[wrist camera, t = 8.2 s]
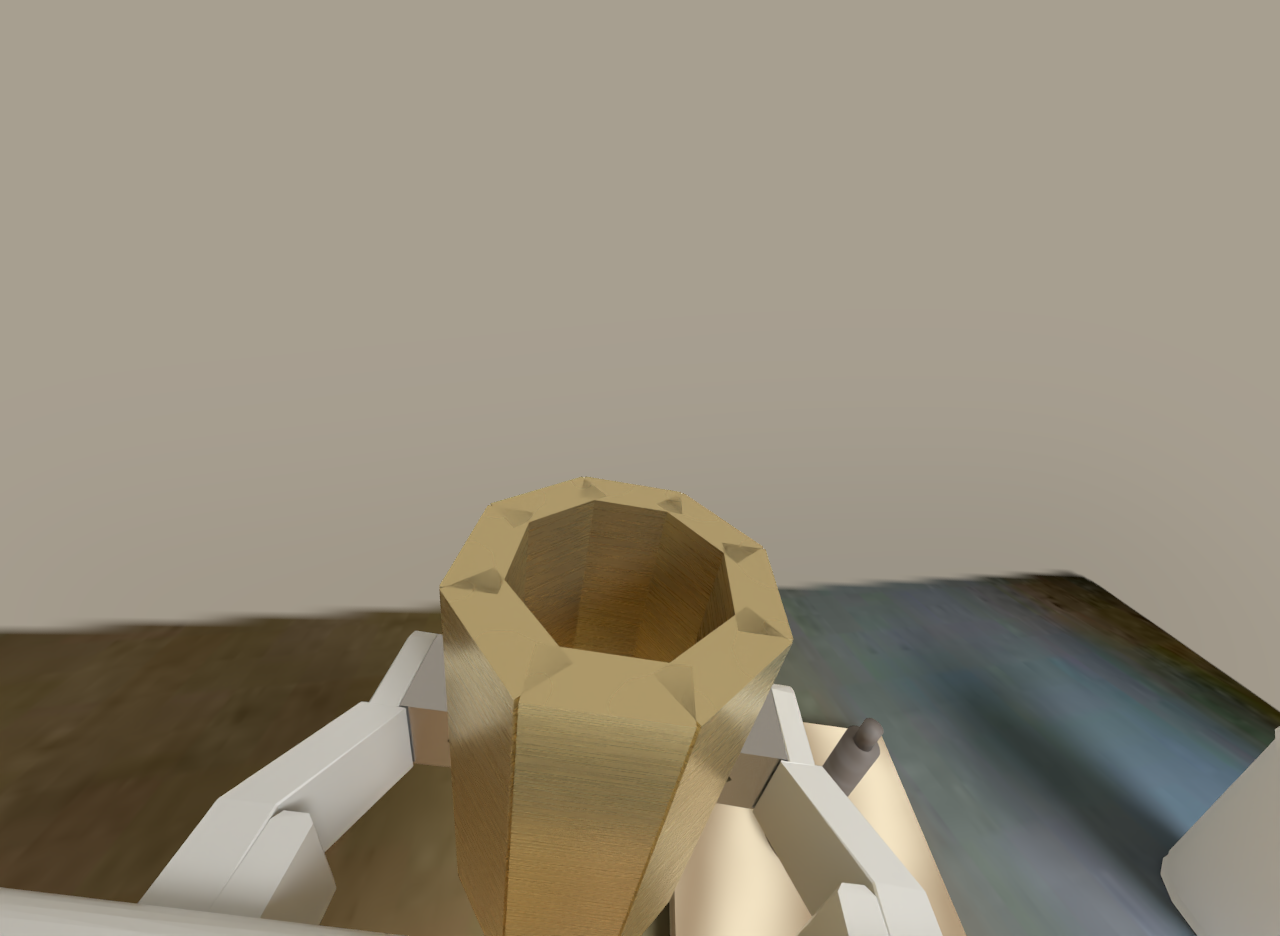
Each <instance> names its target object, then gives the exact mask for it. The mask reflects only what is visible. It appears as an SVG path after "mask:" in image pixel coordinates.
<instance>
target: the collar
mask: <svg viewBox="0 0 1280 936" xmlns="http://www.w3.org/2000/svg"><path fill="white" fill-rule="evenodd" d="M440 604H441V620H442V635H443V650H444V666H445V681H446V696H447V712H448V727H449V743H450V758H451V773H452V789H453V804H454V819H455V835H456V850H457V866H458V876H459V878H460V881H461V883H462V885H463V887H464V890H465V892H466V894H467V897H468V899H469V901H470V903H471V906H472V908H473V910H474V912H475V915H476V917H477V919H478V921H479V924H480V926H481V928H482V930H483V933H484V935H485V936H641V935H642V934H643V933H644V932H645V931H646V929H647V928H648V927H649V926H650V924H651V923H652V922H653V921H654V920H655V918H656V917H657V916H658V915H659V913H660V912H661V911H662V910H663V909H664V907H665V906H666V905H667V904H668V902H669V901H670V899H671V897H672V895H673V892H674V890H675V888H676V886H677V884H678V882H679V880H680V878H681V876H682V874H683V871H684V869H685V867H686V865H687V863H688V861H689V859H690V857H691V855H692V853H693V850H694V848H695V846H696V844H697V842H698V840H699V838H700V836H701V834H702V832H703V829H704V827H705V825H706V823H707V821H708V819H709V817H710V815H711V813H712V811H713V808H714V806H715V804H716V802H717V800H718V798H719V796H720V794H721V792H722V790H723V787H724V785H725V783H726V781H727V779H728V777H729V775H730V773H731V771H732V769H733V767H734V764H735V762H736V760H737V758H738V756H739V754H740V752H741V750H742V748H743V746H744V743H745V741H746V739H747V737H748V735H749V733H750V731H751V729H752V727H753V725H754V722H755V720H756V718H757V716H758V714H759V712H760V710H761V708H762V706H763V704H764V701H765V699H766V697H767V695H768V693H769V691H770V689H771V687H772V685H773V683H774V680H775V678H776V676H777V674H778V672H779V670H780V668H781V666H782V664H783V662H784V659H785V657H786V655H787V653H788V651H789V649H790V647H791V645H792V643H793V642H792V641H793V637H792V633H791V630H790V627H789V624H788V620H787V617H786V614H785V611H784V608H783V604H782V601H781V598H780V595H779V591H778V588H777V585H776V582H775V579H774V575H773V572H772V569H771V566H770V563H769V560H768V556H767V553H766V550H765V549H763V546H761V545H760V544H758V543H757V542H755V541H754V540H752V539H751V538H749V537H748V536H746V535H745V534H743V533H742V532H740V531H739V530H737V529H736V528H734V527H733V526H731V525H730V524H729V523H727V522H726V521H724V520H723V519H721V518H720V517H718V516H717V515H715V514H714V513H712V512H711V511H709V510H708V509H706V508H705V507H703V506H702V505H700V504H699V503H697V502H696V501H694V500H693V499H691V498H690V497H688V496H687V495H686V494H684V493H683V494H681V492H677V491H671V490H665V489H658V488H652V487H646V486H640V485H634V484H628V483H621V482H616V481H609V480H604V479H597V478H591V477H585V479H584V478H583V477H579V478H576V479H572V480H569V481H565V482H562V483H559V484H556V485H552V486H549V487H545V488H542V489H539V490H535V491H531V492H528V493H525V494H521V495H518V496H514V497H511V498H508V499H504V500H501V501H497V502H494V503H491V506H490V505H488V506H487V508H486V509H485V511H484V513H483V514H482V516H481V518H480V519H479V521H478V523H477V524H476V526H475V528H474V529H473V531H472V533H471V534H470V536H469V538H468V539H467V541H466V543H465V544H464V546H463V548H462V549H461V551H460V552H459V554H458V556H457V557H456V559H455V561H454V563H453V564H452V566H451V568H450V569H449V571H448V572H447V574H446V576H445V577H444V579H443V581H442V582H441V584H440Z"/></svg>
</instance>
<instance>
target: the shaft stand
mask: <svg viewBox="0 0 1280 936" xmlns="http://www.w3.org/2000/svg"><path fill="white" fill-rule="evenodd" d="M803 725H804V728H805V732H806V735H807V739H808V742H809V746H810V749H811V753H812V756H813V760H814V763H815V765H818V766H822V767H823V768H824V769H825V770H826V772H827V773H828V774H829V775H830V776H831V778H832V779H833V780H834V781H835V782H836V784H837V785H838V786H839V787H840V789H841V790H842V791H843V792H844V793H845V795H846V796H847V797H848V798H849V799H850V801H851V802H852V803H853V804H854V805H855V807H856V808H857V809H858V810H859V812H860V813H861V814H862V815H863V816H864V818H865V819H866V820H867V821H868V822H869V824H870V825H871V826H872V827H873V828H874V830H875V831H876V832H877V833H878V835H879V836H880V837H881V838H882V839H883V841H884V842H885V843H886V844H887V845H888V847H889V848H890V849H891V850H892V851H893V853H894V854H895V855H896V856H897V858H898V859H899V860H900V861H901V862H902V864H903V865H904V866H905V867H906V868H907V870H908V871H909V872H910V873H911V875H912V876H913V877H914V878H915V879H916V881H917V882H918V883H919V884H920V885H921V887H922V888H923V889H924V890H925V892H926V894H927V897H928V899H929V902H930V904H931V907H932V910H933V912H934V915H935V917H936V920H937V922H938V925H939V928H940V930H941V933H942V935H943V936H966V934H965V932H964V929H963V927H962V924H961V922H960V920H959V917H958V915H957V913H956V910H955V908H954V906H953V903H952V901H951V899H950V896H949V894H948V891H947V889H946V887H945V884H944V882H943V880H942V877H941V875H940V873H939V870H938V868H937V866H936V863H935V861H934V858H933V856H932V854H931V851H930V849H929V847H928V844H927V842H926V840H925V837H924V835H923V833H922V830H921V828H920V825H919V823H918V821H917V818H916V816H915V814H914V811H913V809H912V807H911V804H910V802H909V800H908V797H907V795H906V793H905V790H904V788H903V785H902V783H901V781H900V778H899V776H898V774H897V771H896V769H895V767H894V764H893V762H892V760H891V757H890V755H889V752H888V750H887V748H886V745H885V743H884V741H883V738H882V735H883V728H882V726H881V725H880V723H879V722H877V721H876V720H874V719H872V718H866V719H865V720H864V722H863V723H862V725H861V726H860V727H858V726H851V727H849V728H841V727H834V726H826V725H819V724H812V723H805V722H803ZM752 811H753V809H748V808H742V807H736V806H730V805H724V804H718V803H716V804H715V806H714V808H713V811H712V813H711V815H710V817H709V819H708V821H707V823H706V825H705V827H704V829H703V832H702V834H701V836H700V838H699V840H698V842H697V844H696V846H695V848H694V850H693V853H692V855H691V857H690V859H689V861H688V863H687V865H686V867H685V869H684V871H683V874H682V876H681V878H680V880H679V882H678V884H677V886H676V888H675V890H674V892H673V895H672V897H671V899H670V901H669V906H670V936H796V934H797V933H798V932H799V931H800V930H801V929H802V928H803V926H804V925H805V924H806V923H807V922H808V921H809V920H810V918H811V917H812V916H811V915H810V913H809V911H808V909H807V907H806V906H805V904H804V902H803V900H802V899H801V897H800V895H799V893H798V892H797V890H796V888H795V886H794V884H793V883H792V881H791V879H790V877H789V876H788V874H787V872H786V870H785V869H784V867H783V865H782V863H781V861H780V860H779V858H778V856H777V854H776V853H775V851H774V849H773V847H772V846H771V844H770V842H769V840H768V838H767V837H766V835H765V833H764V831H763V830H762V828H761V826H760V824H759V823H758V821H757V819H756V817H755V815H754V814H753V812H752Z"/></svg>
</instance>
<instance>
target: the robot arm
mask: <svg viewBox="0 0 1280 936" xmlns="http://www.w3.org/2000/svg"><path fill="white" fill-rule="evenodd" d="M413 763H416V764H425V765H435V766H444V767H451V758H450V743H449V727H448V712H447V696H446V681H445V666H444V650H443V635H440V634H434V633H428V632H421V631H414V632H413V633H412V634H411V635H410V636H409V637H408V639H407V640H406V642H405V643H404V645H403V647H402V648H401V650H400V652H399V653H398V655H397V657H396V658H395V660H394V662H393V663H392V665H391V667H390V668H389V670H388V672H387V673H386V675H385V677H384V678H383V680H382V681H381V683H380V685H379V686H378V688H377V690H376V691H375V693H374V695H373V696H372V698H371V700H370V701H369V702H363V701H361V702H360V703H358V704H357V705H355V706H354V707H352V708H351V709H349V710H348V711H346V712H345V713H343V714H342V715H340V716H339V717H338V718H336V719H335V720H333V721H332V722H330V723H329V724H327V725H326V726H324V727H323V728H321V729H320V730H318V731H317V732H315V733H314V734H312V735H311V736H309V737H308V738H306V739H305V740H304V741H302V742H301V743H299V744H298V745H296V746H295V747H293V748H292V749H290V750H289V751H287V752H286V753H284V754H283V755H281V756H280V757H278V758H277V759H275V760H274V761H272V762H271V763H270V764H268V765H267V766H265V767H264V768H262V769H261V770H259V771H258V772H256V773H255V774H253V775H252V776H250V777H249V778H247V779H246V780H244V781H243V782H241V783H240V784H239V785H237V786H236V787H234V788H233V789H231V790H230V791H228V792H227V793H225V794H224V795H222V796H221V797H219V798H218V799H217V800H216V802H215V803H214V804H213V806H212V807H211V808H210V810H209V811H208V812H207V813H206V815H205V816H204V817H203V819H202V820H201V821H200V823H199V824H198V825H197V826H196V828H195V829H194V830H193V832H192V833H191V834H190V836H189V837H188V838H187V840H186V841H185V842H184V843H183V845H182V846H181V847H180V849H179V850H178V851H177V853H176V854H175V855H174V856H173V858H172V859H171V860H170V862H169V863H168V864H167V866H166V867H165V868H164V870H163V871H162V872H161V873H160V875H159V876H158V877H157V879H156V880H155V881H154V883H153V884H152V885H151V886H150V888H149V889H148V890H147V892H146V893H145V894H144V896H143V897H142V898H141V900H140V901H139V902H138V903H137V904H136V903H128V902H119V901H111V900H102V899H94V898H86V897H77V896H69V895H60V894H52V893H44V892H35V891H27V890H19V889H10V888H2V887H0V936H405V935H396V934H388V933H379V932H371V931H363V930H354V929H346V928H337V927H329V926H321V925H319V924H320V922H321V920H322V918H323V916H324V914H325V912H326V910H327V907H328V905H329V903H330V901H331V899H332V897H333V895H334V893H335V890H336V885H335V880H334V877H333V874H332V872H331V869H330V866H329V864H328V861H327V858H326V856H325V853H324V852H325V851H326V850H327V849H328V848H329V847H331V846H332V845H333V844H334V843H335V842H336V841H337V840H338V839H339V838H340V837H341V836H342V835H343V834H344V833H345V832H346V831H347V830H348V829H349V828H350V827H351V826H352V825H353V824H354V823H355V822H356V821H357V820H358V819H359V818H360V817H361V816H363V815H364V814H365V813H366V812H367V811H368V810H369V809H370V808H371V807H372V806H373V805H374V804H375V803H376V802H377V801H378V800H379V799H380V798H381V797H382V796H383V795H384V794H385V793H386V792H387V791H388V790H389V789H390V788H391V787H392V786H393V785H395V784H396V783H397V782H398V781H399V780H400V779H401V778H402V777H403V776H404V775H405V774H406V773H407V772H408V771H409V770H410V769H411V768H412V767H413ZM716 803H718V804H724V805H730V806H736V807H742V808H748V809H753V811H752V812H753V814H754V815H755V817H756V819H757V821H758V823H759V824H760V826H761V828H762V830H763V831H764V833H765V835H766V837H767V838H768V840H769V842H770V844H771V846H772V847H773V849H774V851H775V853H776V854H777V856H778V858H779V860H780V861H781V863H782V865H783V867H784V869H785V870H786V872H787V874H788V876H789V877H790V879H791V881H792V883H793V884H794V886H795V888H796V890H797V892H798V893H799V895H800V897H801V899H802V900H803V902H804V904H805V906H806V907H807V909H808V911H809V913H810V915H811V916H812V917H811V918H810V920H809V921H808V922H807V923H806V924H805V925H804V926H803V928H802V929H801V930H800V931H799V932H798V933H797V934H796V936H943V935H942V933H941V930H940V928H939V925H938V922H937V920H936V917H935V915H934V912H933V910H932V907H931V904H930V902H929V899H928V897H927V894H926V892H925V890H924V889H923V888H922V887H921V885H920V884H919V883H918V882H917V881H916V879H915V878H914V877H913V876H912V875H911V873H910V872H909V871H908V870H907V868H906V867H905V866H904V865H903V864H902V862H901V861H900V860H899V859H898V858H897V856H896V855H895V854H894V853H893V851H892V850H891V849H890V848H889V847H888V845H887V844H886V843H885V842H884V841H883V839H882V838H881V837H880V836H879V835H878V833H877V832H876V831H875V830H874V828H873V827H872V826H871V825H870V824H869V822H868V821H867V820H866V819H865V818H864V816H863V815H862V814H861V813H860V812H859V810H858V809H857V808H856V807H855V805H854V804H853V803H852V802H851V801H850V799H849V798H848V797H847V796H846V795H845V793H844V792H843V791H842V790H841V789H840V787H839V786H838V785H837V784H836V782H835V781H834V780H833V779H832V778H831V776H830V775H829V774H828V773H827V772H826V770H825V769H824V768H823V767H822V766H818V765H815V763H814V760H813V756H812V753H811V749H810V746H809V742H808V739H807V735H806V732H805V728H804V725H803V721H802V718H801V714H800V711H799V707H798V704H797V700H796V697H795V693H794V691H793V689H792V688H791V687H790V686H785V685H778V684H773V685H772V687H771V689H770V691H769V693H768V695H767V697H766V699H765V701H764V704H763V706H762V708H761V710H760V712H759V714H758V716H757V718H756V720H755V722H754V725H753V727H752V729H751V731H750V733H749V735H748V737H747V739H746V741H745V743H744V746H743V748H742V750H741V752H740V754H739V756H738V758H737V760H736V762H735V764H734V767H733V769H732V771H731V773H730V775H729V777H728V779H727V781H726V783H725V785H724V787H723V790H722V792H721V794H720V796H719V798H718V800H717V802H716Z"/></svg>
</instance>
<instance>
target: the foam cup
mask: <svg viewBox="0 0 1280 936" xmlns="http://www.w3.org/2000/svg"><path fill="white" fill-rule="evenodd" d="M1160 875H1161V877H1162V879H1163V882H1164V884H1165V886H1166V889H1167V891H1168V894H1169V896H1170V898H1171V901H1172V902H1173V904H1174V905H1175V906H1176V908H1177V909H1178V910H1179V912H1180V913H1181V915H1182V916H1183V917H1184V919H1185V920H1186V921H1187V923H1188V924H1189V925H1190V927H1191V928H1192V929H1193V931H1194V932H1195V933H1196V935H1197V936H1280V727H1278V728H1277V729H1275V740H1274V741H1273V742H1272V743H1271V744H1270V745H1269V746H1268V747H1267V748H1266V749H1265V750H1264V751H1263V752H1262V754H1261V755H1260V756H1259V757H1258V758H1257V759H1256V760H1255V761H1254V762H1253V763H1252V764H1251V765H1250V766H1249V767H1248V768H1247V769H1246V770H1245V771H1244V772H1243V774H1242V775H1241V776H1240V777H1239V778H1238V779H1237V780H1236V781H1235V782H1234V783H1233V784H1232V785H1231V786H1230V787H1229V788H1228V789H1227V790H1226V791H1225V792H1224V794H1223V795H1222V796H1221V797H1220V798H1219V799H1218V800H1217V801H1216V802H1215V803H1214V804H1213V805H1212V806H1211V807H1210V808H1209V809H1208V810H1207V811H1206V812H1205V813H1204V815H1203V816H1202V817H1201V818H1200V819H1199V820H1198V821H1197V822H1196V823H1195V824H1194V825H1193V826H1192V827H1191V828H1190V829H1189V830H1188V831H1187V832H1186V833H1185V835H1184V836H1183V837H1182V838H1181V839H1180V840H1179V841H1178V842H1177V843H1176V844H1175V845H1174V846H1173V847H1172V848H1171V849H1170V850H1169V854H1168V855H1167V856H1165V857H1163V862H1162V867H1161V873H1160Z"/></svg>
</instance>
